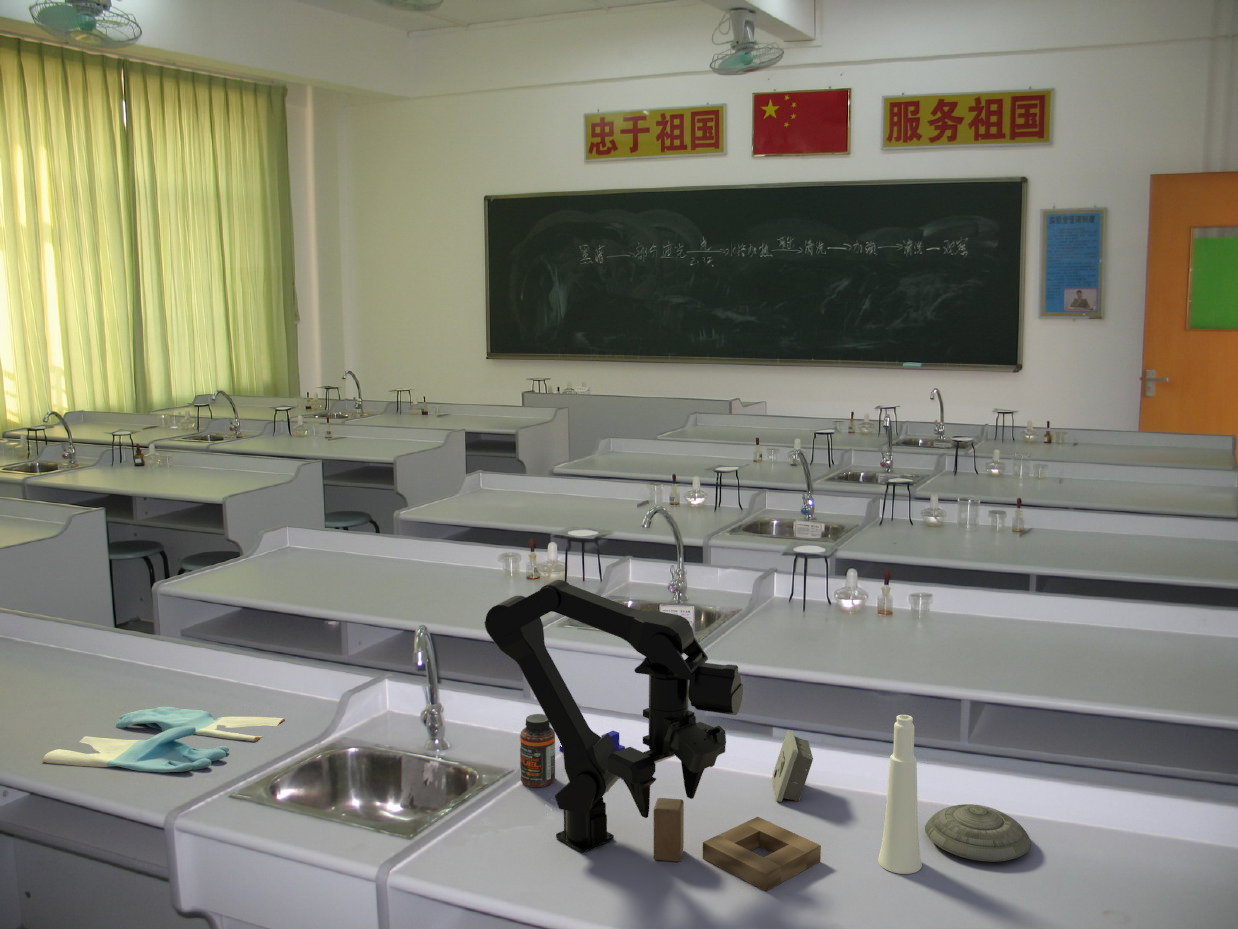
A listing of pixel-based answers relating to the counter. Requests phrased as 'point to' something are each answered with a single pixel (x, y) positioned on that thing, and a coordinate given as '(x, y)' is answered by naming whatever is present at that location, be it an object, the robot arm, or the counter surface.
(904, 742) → the cosmetic bottle
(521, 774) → the supplement bottle
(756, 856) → the socket collar
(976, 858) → the flying saucer
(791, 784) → the electrical switch
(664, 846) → the wooden block
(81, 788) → the counter surface
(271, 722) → the rubber gloves
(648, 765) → the robot arm
